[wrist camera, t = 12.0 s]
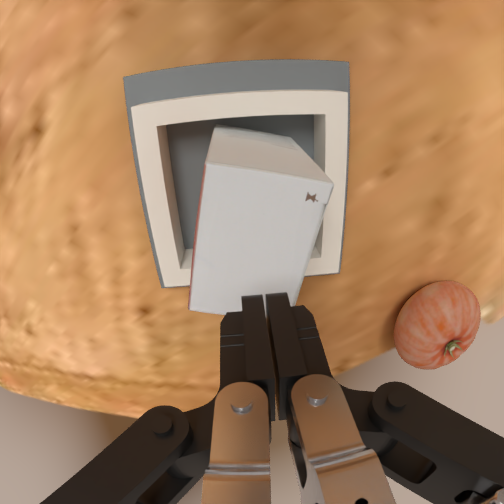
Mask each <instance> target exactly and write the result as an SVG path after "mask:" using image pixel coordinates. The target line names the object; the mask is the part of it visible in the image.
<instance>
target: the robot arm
mask: <svg viewBox="0 0 504 504" xmlns="http://www.w3.org/2000/svg"><path fill="white" fill-rule="evenodd" d="M241 301H242V311H237V312H227V313H226V315H225V316H224V318H223V320H222V322H221V326H220V336H221V338H220V347H221V348H220V388H219V391H218V393H217V395H216V396H215V398H214V399H213V400H212V401H210V402H209V403H208V404H206V405H204V406H202V407H199V408H196V409H193V410H190V411H187V412H182V411H181V410H179V409H177V408H175V407H172V406H157V407H154V408H152V409H150V410H148V411H147V412H146V413H144V414H143V415H142V416H141V417H140V418H139V419H138V420H137V421H136V422H135V423H133V424H132V425H131V426H130V427H129V428H128V429H127V430H126V431H124V432H123V433H122V434H121V435H120V436H119V437H118V438H117V439H115V440H114V441H113V442H112V443H111V444H110V445H109V446H108V447H106V448H105V449H104V450H103V451H102V452H101V453H100V454H98V455H97V456H96V457H95V458H94V459H93V460H92V461H90V462H89V463H88V464H87V465H86V466H85V467H83V468H82V469H81V470H80V471H79V472H78V473H76V474H75V475H74V476H73V477H72V478H70V479H69V480H68V481H67V482H66V483H64V484H63V485H62V486H61V487H60V488H58V489H57V490H56V491H55V492H53V493H52V494H51V495H50V496H49V497H47V498H46V499H45V500H44V501H43V502H41V503H40V504H177V502H179V500H180V499H181V498H182V497H183V496H184V495H185V494H186V493H187V492H188V491H189V490H190V489H191V488H192V487H193V486H194V485H195V484H196V483H197V482H198V481H199V480H200V478H201V477H202V476H203V475H204V477H203V486H202V498H201V504H271V485H270V448H269V445H270V442H271V421H275V396H276V403H277V410H278V416H279V420H287V426H288V443H289V447H290V451H291V455H292V459H293V464H294V468H295V472H296V476H297V479H298V484H299V488H300V494H301V504H396V502H395V499H394V497H393V494H392V491H391V489H390V486H389V483H388V481H387V478H386V476H388V477H390V478H391V479H393V480H394V481H396V482H397V483H399V484H401V485H402V486H404V487H406V488H407V489H409V490H411V491H412V492H414V493H416V494H418V495H419V496H421V497H423V498H424V499H426V500H428V501H430V502H431V503H433V504H504V438H503V437H501V436H499V435H497V434H496V433H494V432H492V431H490V430H488V429H486V428H484V427H482V426H481V425H479V424H477V423H475V422H473V421H471V420H470V419H468V418H466V417H464V416H462V415H460V414H459V413H457V412H455V411H453V410H451V409H450V408H448V407H446V406H444V405H442V404H441V403H439V402H437V401H435V400H434V399H432V398H430V397H428V396H426V395H425V394H423V393H421V392H419V391H418V390H416V389H414V388H412V387H411V386H409V385H407V384H405V383H402V382H388V383H385V384H383V385H381V386H380V387H378V389H377V390H376V391H375V392H368V391H358V390H352V389H348V388H346V387H344V386H342V385H340V384H339V383H338V382H337V381H336V380H335V379H334V378H333V376H332V375H331V372H330V369H329V366H328V362H327V359H326V356H325V353H324V349H323V346H322V343H321V340H320V338H319V333H318V330H317V328H316V324H315V320H314V317H313V315H312V314H311V313H310V311H309V310H308V309H307V308H306V307H305V306H304V305H301V306H292V307H291V306H290V302H289V298H288V294H287V292H281V293H270V294H265V301H266V314H265V308H264V301H263V295H262V294H260V295H248V296H241ZM385 475H386V476H385Z"/></svg>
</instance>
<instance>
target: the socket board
mask: <svg viewBox="0 0 504 504" xmlns="http://www.w3.org/2000/svg"><path fill="white" fill-rule="evenodd" d="M123 79H124V89H125V98H126V106H127V114H128V121H129V129H130V136H131V142H132V149H133V155H134V161H135V167H136V173H137V178H138V184H139V189H140V195H141V200H142V205H143V210H144V215H145V219H146V224H147V229H148V233H149V238H150V242H151V247H152V251H153V255H154V260H155V264H156V268H157V272H158V276H159V280H160V284H161V288H172V287H187V286H190V277H191V265H192V254H193V244H194V235H195V227H196V219H197V212H198V205H199V198H200V191H201V184H202V177H203V171H204V164H205V161H206V157H207V154H208V150H209V146H210V142H211V138H212V134H213V130H214V127H215V125H216V124H218V125H225V126H232V127H238V128H244V129H250V130H256V131H261V132H267V133H272V134H277V135H282V136H288V137H291V138H292V139H293V140H294V141H295V142H296V143H297V144H298V145H299V146H300V147H301V148H302V149H303V150H304V152H305V153H307V155H308V156H309V157H310V158H311V159H312V160H313V161H314V162H315V163H316V164H317V165H318V166H319V167H320V168H321V169H322V170H323V172H324V173H325V174H326V175H327V176H328V177H329V178H330V179H331V180H332V182H333V183H334V188H333V191H332V194H331V197H330V200H329V203H328V205H327V207H326V210H325V213H324V216H323V219H322V223H321V226H320V228H319V232H318V235H317V238H316V241H315V244H314V247H313V251H312V254H311V257H310V260H309V263H308V266H307V269H306V272H305V275H304V277H308V276H319V275H329V274H339V273H340V268H341V259H342V249H343V238H344V226H345V214H346V199H347V183H348V162H349V127H350V78H349V62H344V61H328V60H295V59H280V60H248V61H232V62H219V63H209V64H199V65H191V66H183V67H176V68H170V69H163V70H157V71H152V72H146V73H141V74H136V75H131V76H126V77H123Z"/></svg>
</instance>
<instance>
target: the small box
mask: <svg viewBox="0 0 504 504" xmlns="http://www.w3.org/2000/svg"><path fill="white" fill-rule="evenodd" d="M333 188H334V183H333V182H332V180H331V179H330V178H329V177H328V176H327V175H326V174H325V173H324V172H323V170H322V169H321V168H320V167H319V166H318V165H317V164H316V163H315V162H314V161H313V160H312V159H311V158H310V157H309V156H308V155H307V153H305V152H304V150H303V149H302V148H301V147H300V146H299V145H298V144H297V143H296V142H295V141H294V140H293V139H292V138H291V137H288V136H282V135H277V134H272V133H267V132H261V131H256V130H250V129H244V128H238V127H232V126H225V125H218V124H216V125H215V127H214V130H213V134H212V138H211V142H210V146H209V150H208V154H207V157H206V161H205V164H204V171H203V177H202V184H201V191H200V198H199V205H198V212H197V219H196V227H195V235H194V244H193V254H192V265H191V277H190V291H189V303H188V309H189V310H191V311H198V312H205V313H212V314H221V315H226V313H227V312H237V311H242V301H241V296H248V295H260V294H262V295H263V301H264V308H265V314H266V301H265V294H270V293H281V292H287V294H288V298H289V302H290V306H291V307H292V306H295V304H296V300H297V297H298V294H299V291H300V288H301V285H302V282H303V279H304V275H305V272H306V269H307V266H308V263H309V260H310V257H311V254H312V251H313V247H314V244H315V241H316V238H317V235H318V232H319V228H320V226H321V223H322V219H323V216H324V213H325V210H326V207H327V205H328V203H329V200H330V197H331V194H332V191H333Z"/></svg>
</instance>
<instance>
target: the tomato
mask: <svg viewBox="0 0 504 504" xmlns="http://www.w3.org/2000/svg"><path fill="white" fill-rule="evenodd" d="M479 325H480V306H479V303H478V300H477V298H476V296H475V295H474V293H473V292H472V291H471V290H470V289H468V288H467V287H466V286H464V285H462V284H461V283H458V282H455V281H439V282H434V283H432V284H429V285H427V286H425V287H423V288H422V289H420V290H419V291H417V292H416V293H415V294H414V295H413V296H411V297H410V298H409V299H408V301H407V302H406V303H405V304H404V306H403V307H402V309H401V311H400V313H399V315H398V317H397V320H396V323H395V329H394V341H395V346H396V349H397V351H398V353H399V355H400V356H401V358H402V359H403V360H404V361H405V362H406V363H408V364H410V365H412V366H414V367H416V368H420V369H436V368H439V367H441V366H444V365H447V364H449V363H451V362H452V361H454V360H456V359H457V358H458V357H459V356H460V355H461V354H462V353H463V352H465V351H466V350H467V349H468V347H469V346H470V345H471V343H472V342H473V341H474V339H475V336H476V333H477V331H478V328H479Z"/></svg>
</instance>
